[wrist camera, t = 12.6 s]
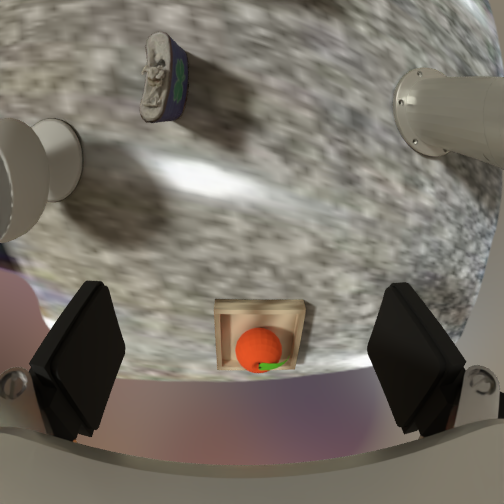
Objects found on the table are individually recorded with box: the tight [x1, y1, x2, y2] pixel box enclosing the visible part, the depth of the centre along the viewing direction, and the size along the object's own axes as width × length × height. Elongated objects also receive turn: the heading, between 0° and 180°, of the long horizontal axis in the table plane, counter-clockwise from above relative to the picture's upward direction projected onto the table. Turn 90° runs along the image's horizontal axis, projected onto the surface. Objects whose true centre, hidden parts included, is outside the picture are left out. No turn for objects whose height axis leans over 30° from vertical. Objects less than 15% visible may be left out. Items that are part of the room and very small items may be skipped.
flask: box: [139, 32, 189, 123], centre depth 25 cm, size 9×3×11 cm, turn 175°
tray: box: [214, 299, 306, 370], centre depth 45 cm, size 13×13×2 cm
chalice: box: [0, 118, 83, 243], centre depth 26 cm, size 14×14×15 cm
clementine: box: [235, 328, 290, 373], centre depth 42 cm, size 8×7×7 cm
